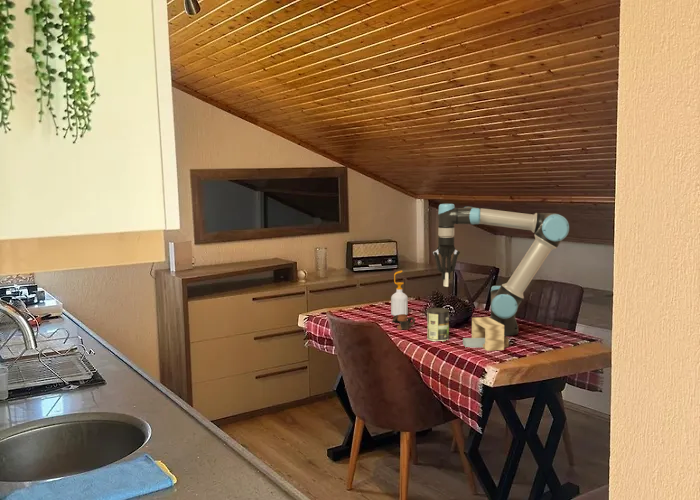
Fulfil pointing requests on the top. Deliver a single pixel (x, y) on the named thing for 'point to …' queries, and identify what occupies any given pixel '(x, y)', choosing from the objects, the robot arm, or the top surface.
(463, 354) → the top surface
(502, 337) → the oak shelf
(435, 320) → the coffee can
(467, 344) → the grey flat block
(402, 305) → the soap bottle
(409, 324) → the pottery mug
